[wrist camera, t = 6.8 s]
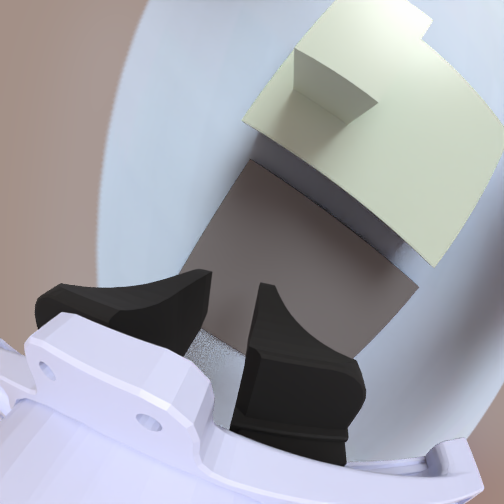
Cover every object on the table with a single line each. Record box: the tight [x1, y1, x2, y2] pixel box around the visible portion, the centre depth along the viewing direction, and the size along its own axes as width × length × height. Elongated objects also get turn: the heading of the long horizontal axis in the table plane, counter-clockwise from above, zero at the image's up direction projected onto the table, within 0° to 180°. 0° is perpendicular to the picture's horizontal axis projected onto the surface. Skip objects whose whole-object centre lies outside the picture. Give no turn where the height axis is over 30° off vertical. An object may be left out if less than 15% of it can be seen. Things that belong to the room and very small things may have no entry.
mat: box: [179, 159, 419, 359], centre depth 15 cm, size 12×10×1 cm
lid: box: [242, 0, 504, 268], centre depth 7 cm, size 10×8×5 cm
